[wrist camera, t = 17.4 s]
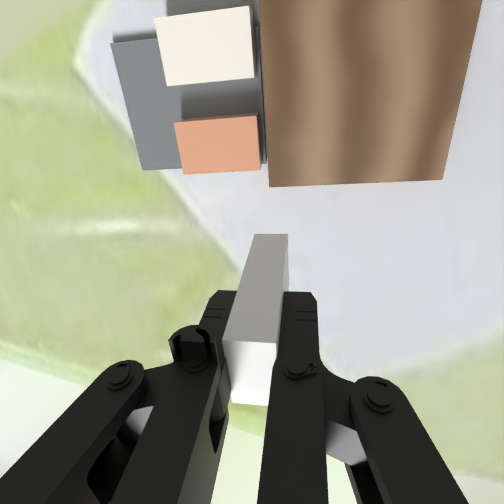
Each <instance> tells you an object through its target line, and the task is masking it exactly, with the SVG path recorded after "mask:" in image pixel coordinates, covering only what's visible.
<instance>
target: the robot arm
mask: <svg viewBox="0 0 504 504" xmlns="http://www.w3.org/2000/svg"><path fill="white" fill-rule="evenodd" d="M288 286H289V272H288V234H255V235H254V239H253V242H252V245H251V248H250V251H249V255H248V258H247V261H246V264H245V267H244V271H243V274H242V277H241V280H240V284H239V287H238V290H237V291H227V290H218V291H217V292H216V293H215V294H214V295H213V296H212V297H211V298H210V299H209V301H208V304H207V306H206V310H205V311H204V313H203V316H202V318H201V320H200V323H199V325H189V326H186V327H184V328H181V329H179V330H178V331H176V332H175V333H174V334H173V335H172V336H171V337H170V339H169V340H168V341H169V345H170V348H171V352H172V356H173V359H174V362H173V363H171V364H168V365H165V366H160V367H156V368H151V369H146V370H144V368H143V366H142V364H141V363H139V362H137V361H134V360H125V361H120V362H118V363H115V364H113V365H111V366H110V367H108V368H107V369H106V370H105V371H103V372H102V373H101V374H100V375H99V376H98V377H97V378H96V379H95V380H94V382H93V383H92V384H91V385H90V386H89V387H88V388H87V389H86V390H85V391H84V392H83V393H82V394H81V395H80V396H79V397H78V398H77V399H76V400H75V401H74V402H73V403H72V404H71V405H70V406H69V407H68V409H67V410H66V411H65V412H64V413H63V414H62V415H61V416H60V417H59V418H58V419H57V420H56V421H55V422H54V423H53V424H52V425H51V426H50V427H49V428H48V429H47V430H46V431H45V432H44V433H43V435H42V436H41V437H40V438H39V439H38V440H37V441H36V442H35V443H34V444H33V445H32V446H31V447H30V448H29V449H28V450H27V451H26V452H25V453H24V454H23V455H22V456H21V457H20V459H19V460H18V461H17V462H16V463H15V464H14V465H13V466H12V467H11V468H10V469H9V470H8V471H7V472H6V473H5V474H4V475H3V476H2V477H1V478H0V504H210V503H211V499H212V493H213V489H214V485H215V480H216V475H217V471H218V466H219V462H220V457H221V452H222V448H223V443H224V439H225V434H226V430H227V425H228V420H229V412H228V407H227V406H228V402H229V398H230V394H231V399H232V403H242V404H253V405H264V406H268V411H267V420H266V428H265V437H264V447H263V455H262V464H261V472H260V481H259V490H258V499H257V504H328V503H329V502H328V483H327V464H326V454H328V455H330V456H332V457H334V458H336V459H338V460H340V461H342V462H344V463H345V467H346V470H347V473H348V476H349V479H350V482H351V485H352V488H353V491H354V495H355V497H356V501H357V504H469V503H468V502H467V500H466V498H465V496H464V495H463V493H462V491H461V490H460V488H459V486H458V485H457V483H456V481H455V479H454V478H453V476H452V474H451V472H450V471H449V469H448V467H447V466H446V464H445V462H444V461H443V459H442V457H441V455H440V454H439V452H438V450H437V449H436V447H435V445H434V443H433V442H432V440H431V438H430V437H429V435H428V433H427V432H426V430H425V428H424V426H423V425H422V423H421V421H420V420H419V418H418V416H417V414H416V413H415V411H414V409H413V408H412V406H411V404H410V403H409V401H408V399H407V397H406V396H405V395H404V393H403V392H402V391H401V390H400V388H399V387H398V386H396V385H395V384H393V383H392V382H390V381H389V380H386V379H383V378H380V377H372V376H367V377H364V378H361V379H358V380H357V381H356V382H355V383H354V382H351V381H348V380H345V379H343V378H340V377H338V376H336V375H334V374H333V373H331V372H330V371H328V369H327V368H326V367H325V366H324V365H323V363H322V361H321V359H320V354H319V336H318V316H317V301H316V299H315V298H314V296H313V295H312V294H311V292H289V291H288Z"/></svg>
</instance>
